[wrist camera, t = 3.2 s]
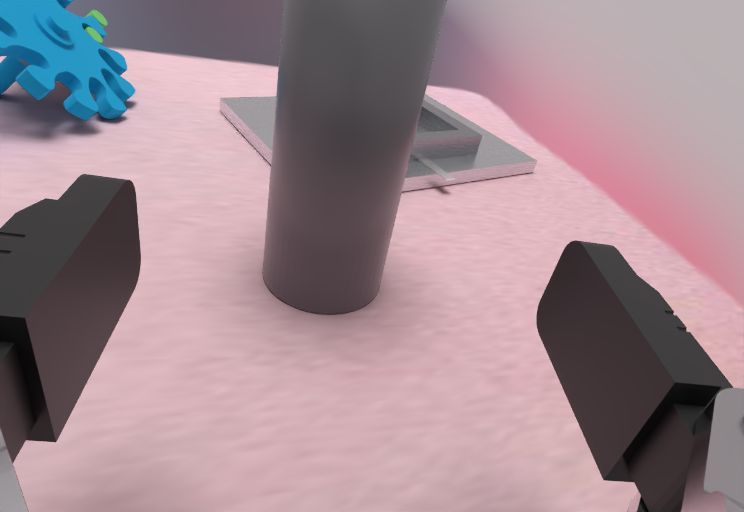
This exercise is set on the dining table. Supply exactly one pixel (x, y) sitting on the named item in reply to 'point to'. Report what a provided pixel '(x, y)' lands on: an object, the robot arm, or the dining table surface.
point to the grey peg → (343, 144)
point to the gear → (61, 56)
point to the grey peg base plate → (429, 151)
